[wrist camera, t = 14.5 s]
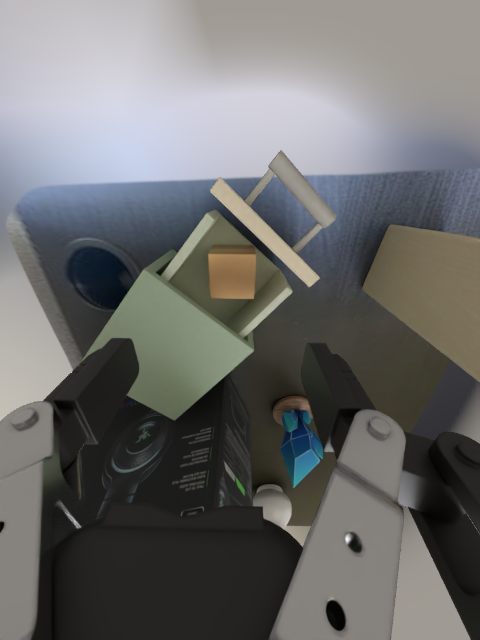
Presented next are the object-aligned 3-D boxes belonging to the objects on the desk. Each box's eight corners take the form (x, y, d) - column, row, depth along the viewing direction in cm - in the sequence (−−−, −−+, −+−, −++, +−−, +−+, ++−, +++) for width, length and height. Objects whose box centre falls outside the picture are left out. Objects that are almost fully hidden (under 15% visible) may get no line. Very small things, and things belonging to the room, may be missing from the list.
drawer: (257, 139, 20) (263, 114, 14) (334, 227, 24) (364, 237, 18) (155, 280, 27) (130, 303, 21) (227, 333, 30) (223, 366, 24)
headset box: (227, 367, 35) (197, 689, 12) (252, 415, 40) (264, 701, 17) (108, 400, 39) (-86, 689, 16) (145, 440, 44) (39, 699, 21)
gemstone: (272, 426, 41) (282, 504, 31) (272, 393, 37) (283, 470, 27) (312, 425, 41) (336, 503, 30) (317, 391, 37) (346, 469, 26)
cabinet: (172, 248, 26) (143, 268, 18) (251, 312, 30) (254, 350, 22) (116, 328, 31) (76, 369, 24) (189, 373, 35) (174, 420, 28)
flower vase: (306, 503, 56) (347, 701, 34) (232, 501, 56) (226, 698, 34) (316, 476, 49) (375, 697, 27) (234, 473, 49) (227, 693, 27)
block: (213, 244, 24) (207, 253, 20) (254, 245, 24) (256, 254, 20) (215, 283, 26) (210, 298, 22) (252, 284, 26) (254, 299, 22)
